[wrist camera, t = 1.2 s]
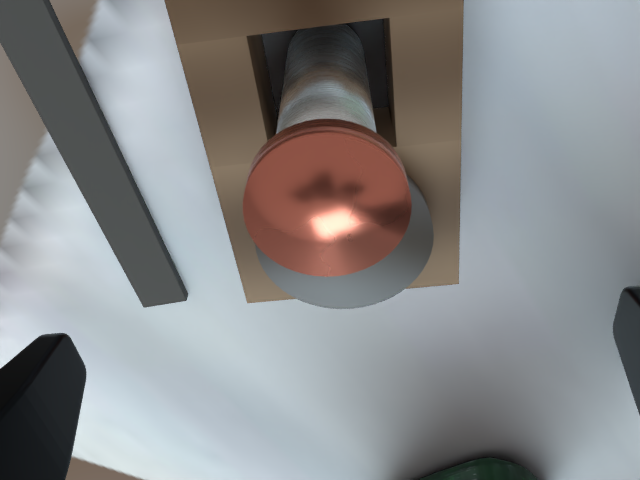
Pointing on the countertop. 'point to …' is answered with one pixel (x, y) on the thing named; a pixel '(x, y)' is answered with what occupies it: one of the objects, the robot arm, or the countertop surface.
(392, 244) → the lock pin
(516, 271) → the countertop surface
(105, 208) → the strip
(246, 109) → the block
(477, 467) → the coffee jar
